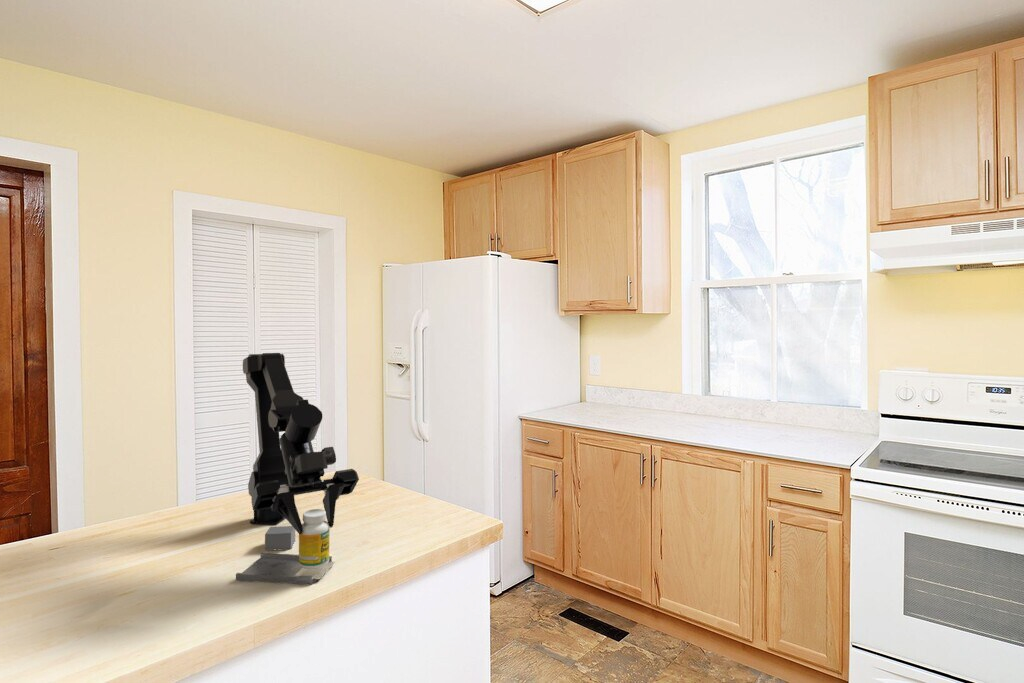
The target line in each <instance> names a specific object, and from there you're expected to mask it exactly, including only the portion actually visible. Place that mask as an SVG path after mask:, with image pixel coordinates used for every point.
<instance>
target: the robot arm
mask: <svg viewBox="0 0 1024 683" xmlns="http://www.w3.org/2000/svg"><path fill="white" fill-rule="evenodd" d="M285 361H286V360H285V354H283V353H281V352H263V353H256V354H255V353H254V354H253V353H249V354H248V355H247V356H246V357H245V358H243V360H242V373H243V374H244V375H245V378H246V379H245V380H246V383H247V384H248V386H249V387H250V388H251V389H252V391H253V392H254V398H255V399H254V400H255V411H256V422H257V434H258V435H257V436H258V449H259V453H258V455H257V457H256V459H255V462H254V463H253V465H252V469H253V470H252V472H251V474H250V476H249V480H248V484H247V489H248V495H249V496H250V497H251V505H252V506H251V507H252V510H253V518H252V519H250V520H249V523H250V524H259V525H261V524H262V525H263V524H264V525H278V524H280V523H281V522H282V521H284V520H287V522H289V524H290V526H293V527H294V529H295V532H297V534H298V535H299V534H302V532H303V530H302V524H303V523H302V520H301V517H300V515H299V511H298V508H297V505H296V500H295V496H298V495H299V496H300V495H304V494H310V493H317V492H321V491H323V493H324V497H323V499H322V504H323V508H324V509H323V510H325V511H326V522H328V524H329V527H330V529H331V528H333V526H334V525H335V524H334V523H335V514H336V504H337V500H338V499H339V498H340V496H346V495H350V494H352V493H353V491H354V489H355V488H356V486H357V483H358V482H359V480H360V477H359V474H358V472H357V471H356V470H355V469H353V468H349V469H341V470H335V473H334V474H333V477H332V478H327V479H321V477H324V475H325V472H326V471H325V469H328V468H329V467H328V466H330V465H334V464H335V463H336V462H337V456H336V451H335V448H334V446H329V447H328V446H327V447H324V448H322V449H321V451H314V447H313V444H312V441H313V440H314V439H316V435H317V433H318V431H319V428H320V426H321V422H322V420H323V412H322V410H321V409H320V408H319V407H317V406H316V405H314V404H311V403H310V402H309V399H306V398H305V399H304V398H303V396H301V395H299V394H297V393H295V390H294V389H293V385H292V383H291V380H290V378H289V373H288V371H287V368H286V362H285ZM280 432H283V433H282V434H281V436H280Z"/></svg>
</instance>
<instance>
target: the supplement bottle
mask: <svg viewBox="0 0 1024 683" xmlns="http://www.w3.org/2000/svg"><path fill="white" fill-rule="evenodd" d="M302 521H303V522H302V523H301V524H302V530H303V532H302V534H299V533H298V555H299V565H300V566H301V567H302V568H304V569H317V568H320V567H323V566H325V565H326V564H327V563H328V562H329V556H330V530H331V528H330V526H329V524H328V521H327V517H326V511H325V509H319V508H317V509H308V510H306V511H304V512H303V513H302Z"/></svg>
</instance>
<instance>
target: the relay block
mask: <svg viewBox="0 0 1024 683" xmlns="http://www.w3.org/2000/svg"><path fill="white" fill-rule="evenodd" d="M294 542H295V543H296V530H295V529H294V527H293V526H292V525H285V526H283V525H282V526H270V527H269V528H268V530H267V531H266V532H265V534H264V551H278V549H286V550H292V549H293V547H292V546H294V545H295V543H294ZM293 544H294V545H293ZM274 549H276V550H274Z"/></svg>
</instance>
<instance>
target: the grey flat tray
mask: <svg viewBox="0 0 1024 683" xmlns="http://www.w3.org/2000/svg"><path fill="white" fill-rule="evenodd" d="M335 563H336V562H335V561H333V557H332V556H331V555H329V562H328V563H327V564H326V565H325V566H323V567H320V568H317V569H304V568H302V567H301V566H300V565H299V554H290V553H271V552H270V553H269V552H268V553H267V552H261V553H260V557H259V558H258V559H257V560H256V561H255V562H253V563H252V564H250V565H249V566H248V567H247V568H245V570H243V571H242V572H236V573H235V581H236V580H243V581H242V582H254V581H257V583H259V582H260V583H273V582H274V583H276V584H278V583H279V584H292V585H293V584H295V585H296V584H297V585H313V584H314V583H315V581H316V580H320V579H322V578H323V577H324V575H325V574H326V573H327V572H328V571H329V570H330V569H331V567H332V566H333V565H334V564H335ZM258 581H259V582H258Z"/></svg>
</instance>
